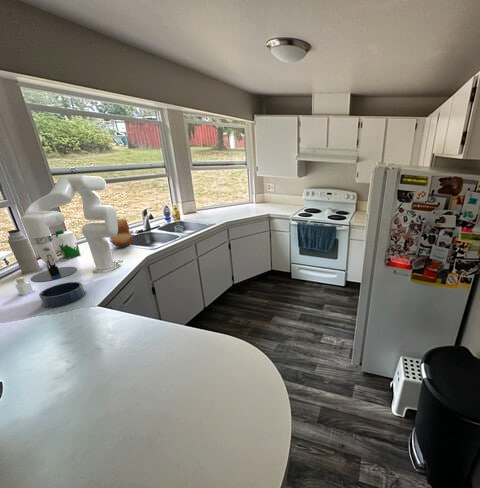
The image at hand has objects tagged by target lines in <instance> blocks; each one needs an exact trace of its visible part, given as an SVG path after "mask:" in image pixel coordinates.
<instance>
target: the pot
mask: <svg viewBox="0 0 480 488" xmlns="http://www.w3.org/2000/svg"><path fill="white" fill-rule="evenodd" d="M85 294H86V292H85V289H84V287H83V283H82V282H80V281H68V282H63V283H58V284H55V285H52V286H50V287H47V288H45V289H44V290H42V291H41V292H40V293H39V295H38V296H39V297H40V300H41V302H42V304H43V306H44V307H46V308H58V307H59V308H60V307H64V306H67V305H70V304H72V303H75V302H77V301H79V300H81V299H82V298H84V297H85V296H86V295H85Z"/></svg>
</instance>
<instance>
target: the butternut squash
mask: <svg viewBox="0 0 480 488" xmlns="http://www.w3.org/2000/svg"><path fill="white" fill-rule="evenodd" d="M117 224H118V233H117V235H116V236H115V237H110V238H111V239H110V242H111V244H112V245H113V246H115V247H117V248H118V247H120V248H125V247H129V246H130V245H132V244H133V242H134V237H133V234H132V233H131V232H130V226H129V224H128V220H127V218H126V217H124V216H121V215H117Z"/></svg>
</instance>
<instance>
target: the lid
mask: <svg viewBox="0 0 480 488" xmlns="http://www.w3.org/2000/svg"><path fill="white" fill-rule="evenodd" d="M47 268H49V267H48V265H46V270H44V271H41V272H38V273H35V274H34V275H32V276H31V277H30V282H32V283H48V282H52V281H57V280H61V279H65V278H67V277H69V276H72V275H73V274H76V272H78V268H77V267H75V266H61V267H58V270H59V272H60V274H57V275H53V276H51V274H50V272H49V271H48V270H49V269H47Z"/></svg>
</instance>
